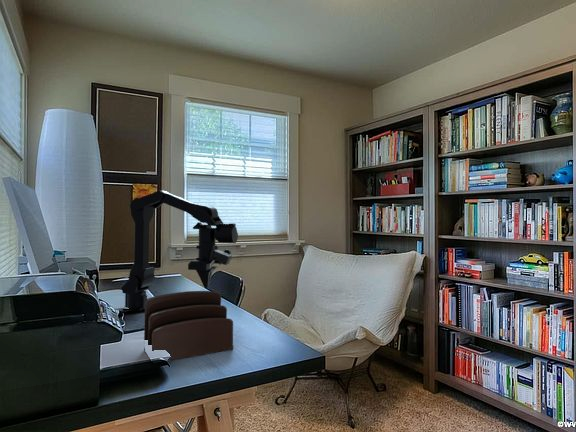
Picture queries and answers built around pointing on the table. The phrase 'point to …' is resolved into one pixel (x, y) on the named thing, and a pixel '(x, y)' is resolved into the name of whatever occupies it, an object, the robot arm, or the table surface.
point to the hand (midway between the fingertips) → (206, 287)
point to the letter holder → (188, 324)
